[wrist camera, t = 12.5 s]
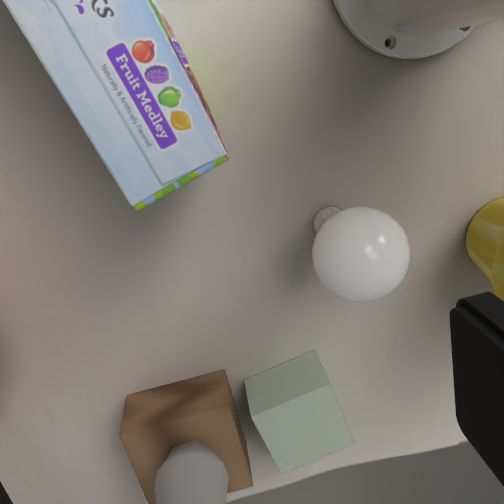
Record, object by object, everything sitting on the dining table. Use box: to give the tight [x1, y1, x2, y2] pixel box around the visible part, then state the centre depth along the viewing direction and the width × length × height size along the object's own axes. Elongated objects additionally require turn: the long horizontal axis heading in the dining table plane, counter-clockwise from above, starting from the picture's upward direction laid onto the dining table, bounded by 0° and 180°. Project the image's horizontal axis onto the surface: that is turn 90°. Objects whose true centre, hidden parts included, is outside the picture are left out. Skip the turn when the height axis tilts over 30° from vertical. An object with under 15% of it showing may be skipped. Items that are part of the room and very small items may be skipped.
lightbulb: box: [312, 207, 411, 303], centre depth 33 cm, size 6×6×11 cm
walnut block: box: [120, 370, 253, 504], centre depth 41 cm, size 9×9×5 cm
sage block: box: [244, 350, 355, 474], centre depth 42 cm, size 7×7×5 cm
